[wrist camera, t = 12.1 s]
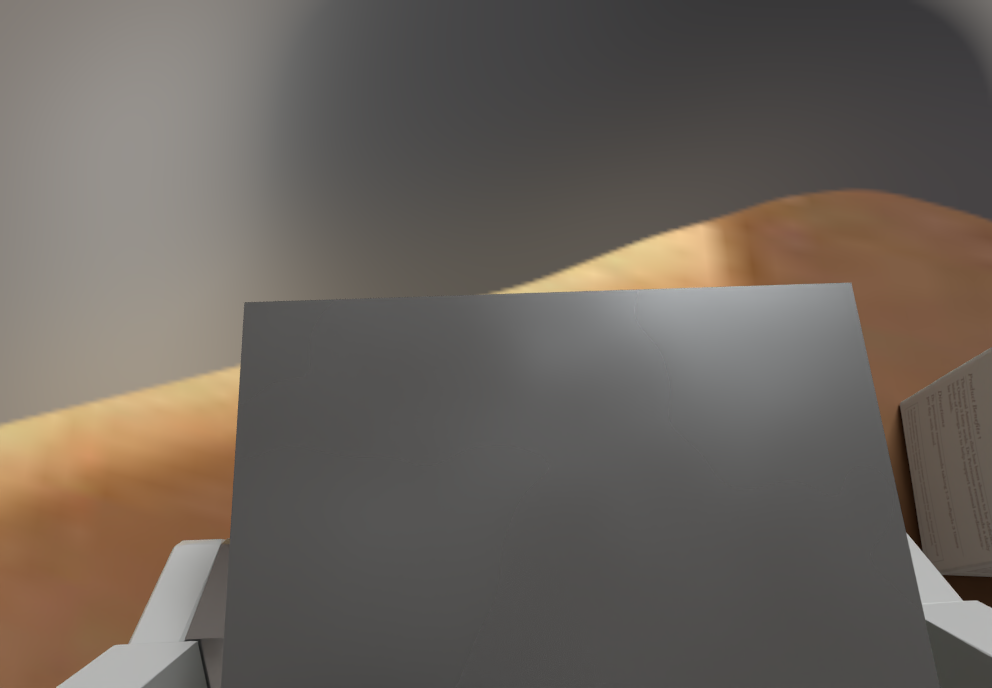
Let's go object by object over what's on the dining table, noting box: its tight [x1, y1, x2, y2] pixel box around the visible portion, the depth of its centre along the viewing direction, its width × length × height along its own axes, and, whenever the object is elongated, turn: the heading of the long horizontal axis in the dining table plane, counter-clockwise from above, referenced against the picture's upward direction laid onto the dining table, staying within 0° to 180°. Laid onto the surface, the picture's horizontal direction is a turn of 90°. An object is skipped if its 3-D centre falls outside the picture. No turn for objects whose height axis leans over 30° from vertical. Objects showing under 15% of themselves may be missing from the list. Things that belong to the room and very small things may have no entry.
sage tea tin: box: [221, 283, 940, 688], centre depth 11 cm, size 5×5×10 cm
